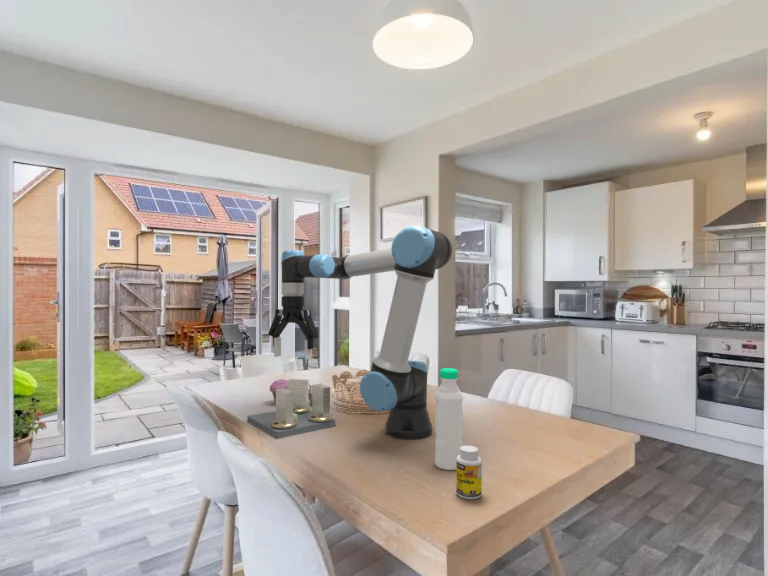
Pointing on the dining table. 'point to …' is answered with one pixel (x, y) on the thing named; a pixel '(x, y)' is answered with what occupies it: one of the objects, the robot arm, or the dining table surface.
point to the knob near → (284, 410)
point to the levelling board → (303, 426)
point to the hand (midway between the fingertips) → (292, 357)
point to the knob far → (299, 394)
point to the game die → (310, 394)
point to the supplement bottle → (468, 473)
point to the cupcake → (278, 386)
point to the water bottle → (448, 420)
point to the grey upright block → (320, 404)
